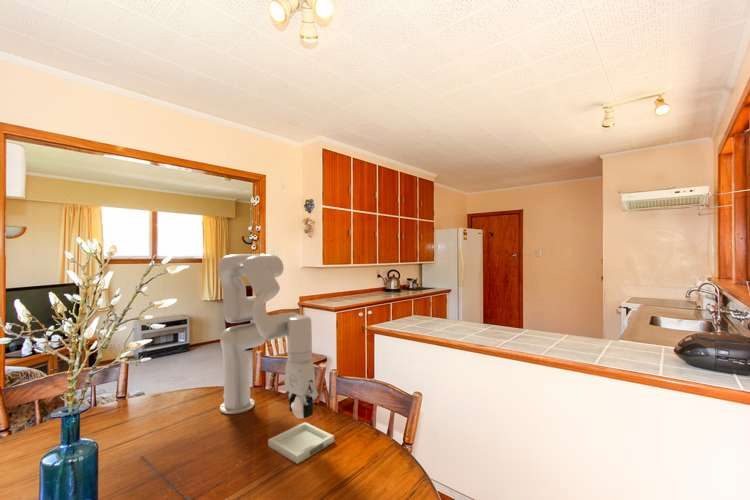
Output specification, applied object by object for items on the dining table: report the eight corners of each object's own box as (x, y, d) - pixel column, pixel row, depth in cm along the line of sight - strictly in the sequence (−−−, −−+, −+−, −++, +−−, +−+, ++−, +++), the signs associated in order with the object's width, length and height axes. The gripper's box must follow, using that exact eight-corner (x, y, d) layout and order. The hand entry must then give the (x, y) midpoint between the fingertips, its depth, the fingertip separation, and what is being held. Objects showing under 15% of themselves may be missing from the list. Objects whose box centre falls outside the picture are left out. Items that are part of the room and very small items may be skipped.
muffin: (294, 422, 107) (294, 399, 107) (288, 414, 112) (288, 392, 112) (314, 417, 110) (313, 395, 110) (307, 410, 115) (306, 388, 115)
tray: (268, 446, 110) (268, 439, 110) (305, 428, 121) (304, 421, 121) (297, 464, 101) (297, 456, 101) (334, 442, 112) (334, 436, 112)
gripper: (273, 353, 114) (274, 409, 114) (308, 364, 103) (309, 426, 103) (292, 348, 120) (293, 401, 120) (327, 357, 109) (328, 416, 109)
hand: (301, 412), depth 111 cm, fingers closed on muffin, 6 cm apart
